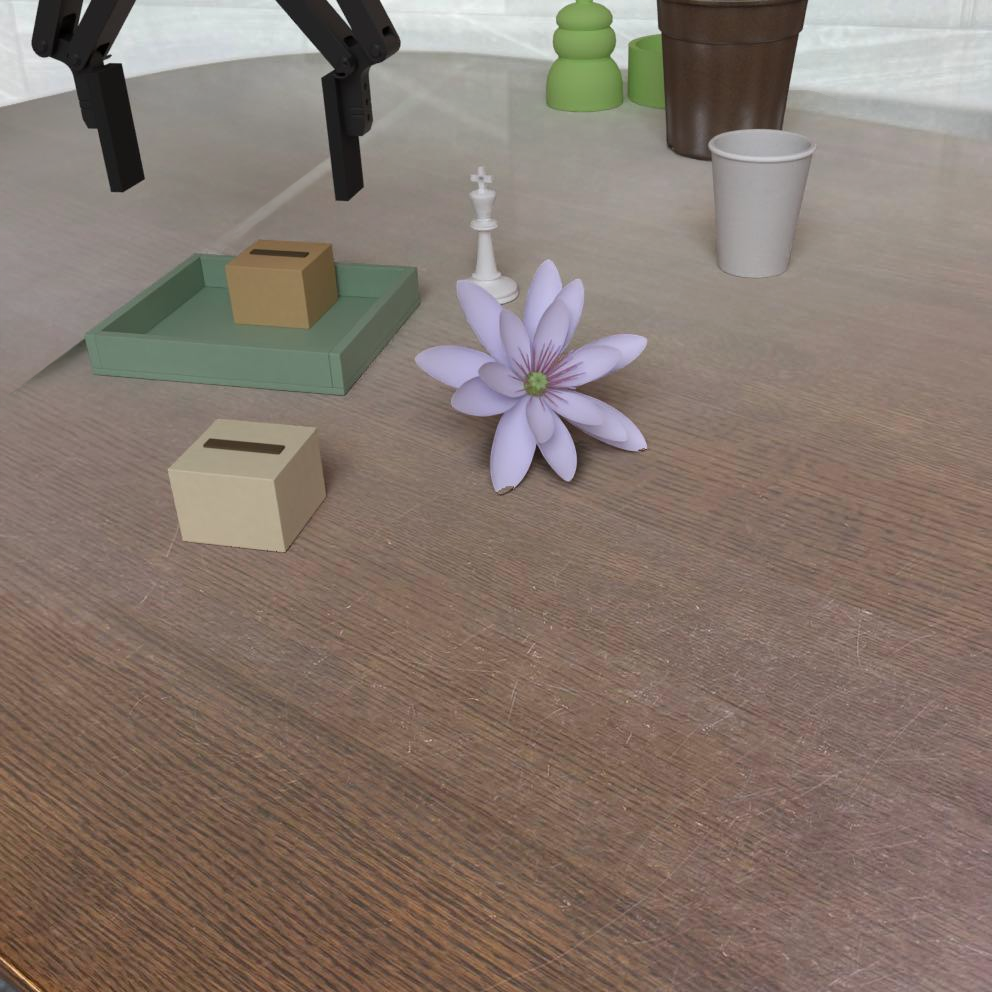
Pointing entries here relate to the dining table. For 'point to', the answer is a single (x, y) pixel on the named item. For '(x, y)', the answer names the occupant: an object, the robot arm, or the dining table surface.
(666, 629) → the dining table surface
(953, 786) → the dining table surface
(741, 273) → the dixie cup
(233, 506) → the beige slotted box
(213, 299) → the tray
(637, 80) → the green stacking toy
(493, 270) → the chess piece
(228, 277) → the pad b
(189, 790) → the dining table surface
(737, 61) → the plant pot
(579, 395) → the water lily
